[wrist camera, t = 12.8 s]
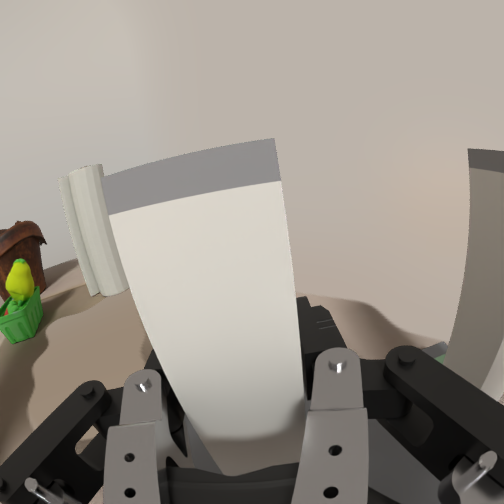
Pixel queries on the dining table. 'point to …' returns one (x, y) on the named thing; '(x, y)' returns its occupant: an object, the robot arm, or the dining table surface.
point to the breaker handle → (218, 295)
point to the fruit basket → (20, 304)
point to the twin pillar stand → (452, 356)
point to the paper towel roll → (92, 231)
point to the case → (21, 253)
